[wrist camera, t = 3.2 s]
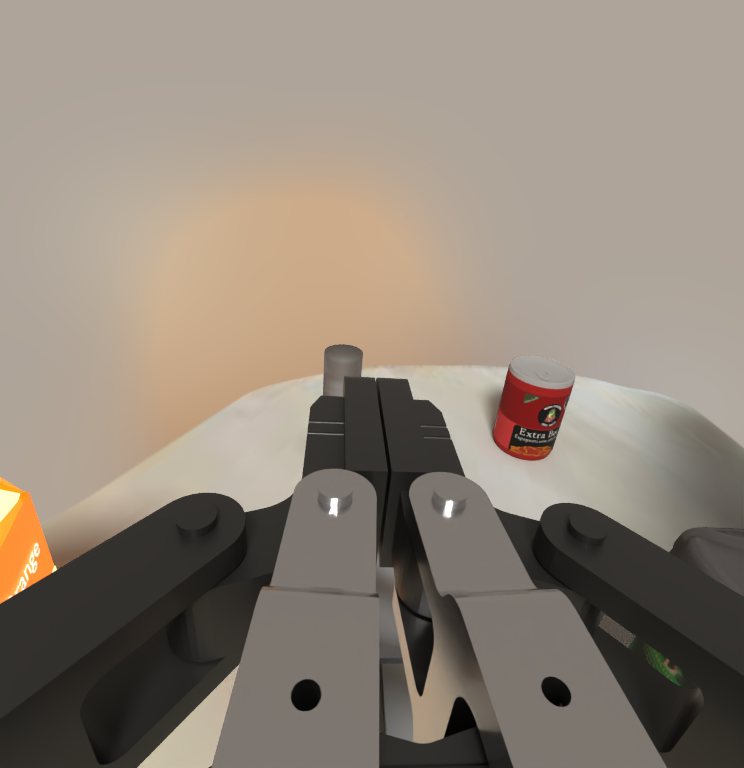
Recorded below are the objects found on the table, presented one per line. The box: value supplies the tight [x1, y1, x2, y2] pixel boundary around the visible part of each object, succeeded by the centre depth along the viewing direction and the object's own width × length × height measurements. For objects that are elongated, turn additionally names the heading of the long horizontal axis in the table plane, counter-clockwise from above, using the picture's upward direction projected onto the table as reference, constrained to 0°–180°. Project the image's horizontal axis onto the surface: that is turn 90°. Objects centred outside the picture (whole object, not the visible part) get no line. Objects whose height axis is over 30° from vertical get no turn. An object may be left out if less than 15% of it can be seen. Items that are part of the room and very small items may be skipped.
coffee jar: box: [628, 527, 744, 689], centre depth 25 cm, size 10×8×19 cm
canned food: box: [493, 355, 575, 460], centre depth 58 cm, size 8×8×11 cm
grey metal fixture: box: [323, 345, 413, 742], centre depth 34 cm, size 25×13×18 cm, turn 3°
